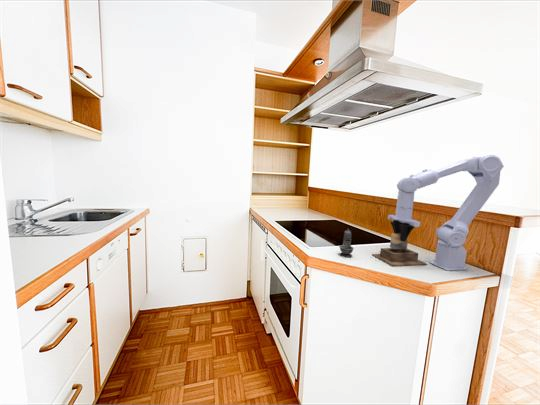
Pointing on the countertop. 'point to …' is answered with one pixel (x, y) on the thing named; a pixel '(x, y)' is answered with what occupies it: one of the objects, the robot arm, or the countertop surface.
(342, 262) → the countertop surface
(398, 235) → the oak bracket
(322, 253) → the countertop surface
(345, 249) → the grey stone statuette
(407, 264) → the brown flanged tray
